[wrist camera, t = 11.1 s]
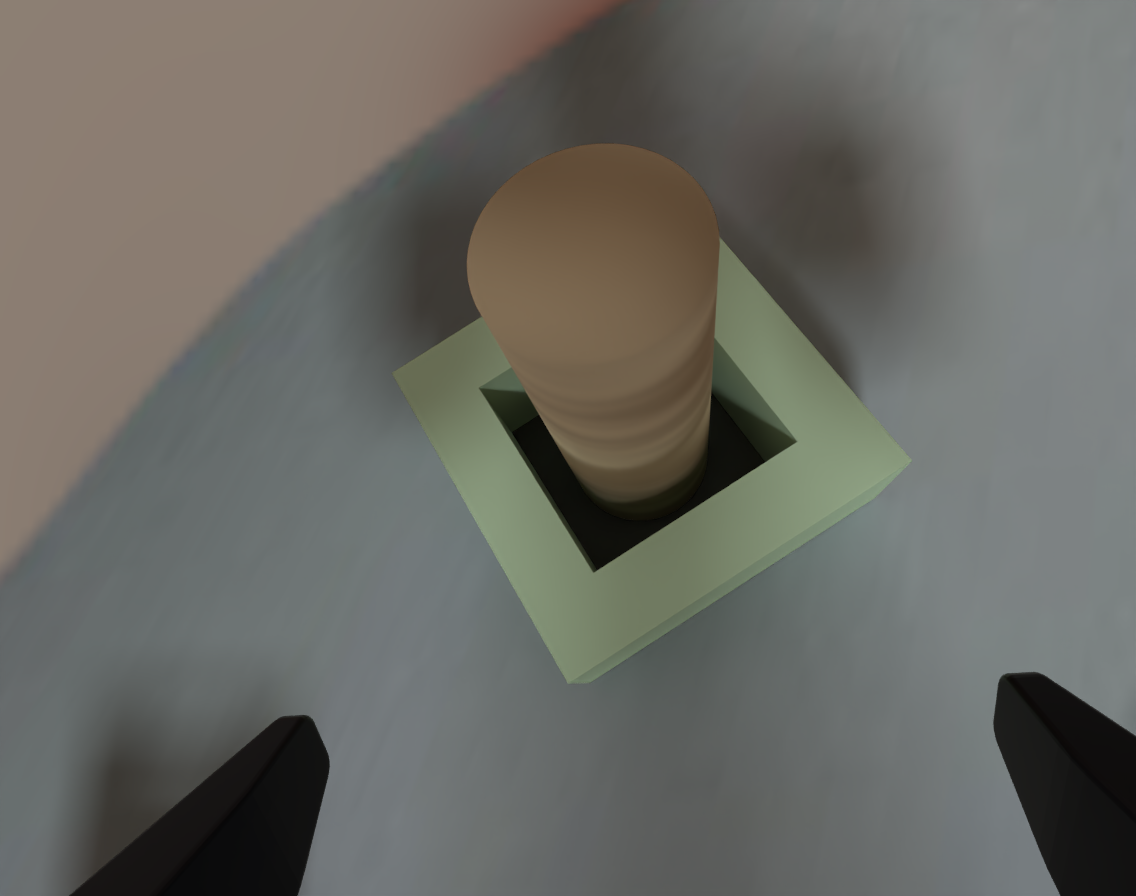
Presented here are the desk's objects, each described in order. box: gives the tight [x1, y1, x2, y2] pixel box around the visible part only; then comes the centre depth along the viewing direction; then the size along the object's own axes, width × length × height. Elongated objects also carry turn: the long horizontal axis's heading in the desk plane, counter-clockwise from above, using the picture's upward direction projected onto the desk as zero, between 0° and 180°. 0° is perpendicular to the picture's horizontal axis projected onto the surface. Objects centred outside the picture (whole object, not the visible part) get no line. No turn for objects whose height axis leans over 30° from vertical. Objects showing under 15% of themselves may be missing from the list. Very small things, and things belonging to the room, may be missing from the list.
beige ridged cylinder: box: [467, 143, 720, 521], centre depth 18 cm, size 4×4×12 cm
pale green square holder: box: [392, 237, 912, 684], centre depth 22 cm, size 10×10×4 cm
